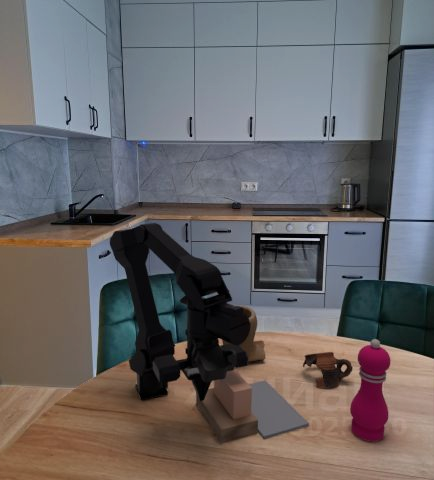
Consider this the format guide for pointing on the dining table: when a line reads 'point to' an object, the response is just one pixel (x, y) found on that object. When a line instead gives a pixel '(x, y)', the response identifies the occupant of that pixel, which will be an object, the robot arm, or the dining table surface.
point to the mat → (273, 411)
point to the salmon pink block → (234, 394)
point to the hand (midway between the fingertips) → (201, 399)
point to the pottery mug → (328, 368)
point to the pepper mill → (370, 393)
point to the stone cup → (251, 338)
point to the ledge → (225, 419)
